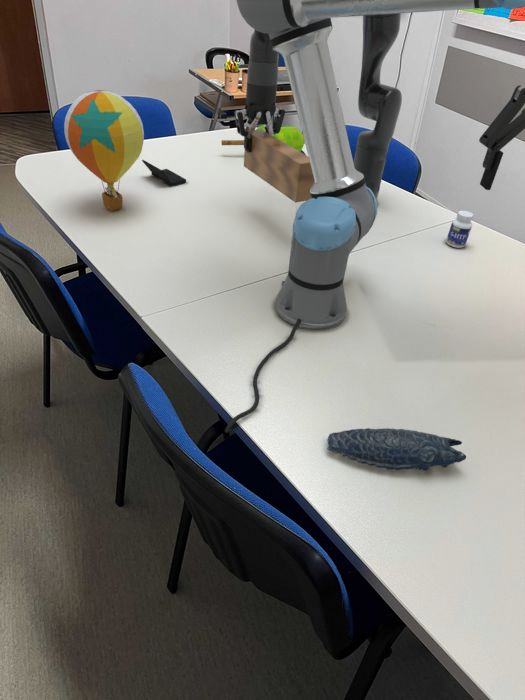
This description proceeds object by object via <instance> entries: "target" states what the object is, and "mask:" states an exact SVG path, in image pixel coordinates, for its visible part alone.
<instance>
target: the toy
mask: <svg viewBox="0 0 525 700" xmlns="http://www.w3.org/2000/svg"><path fill="white" fill-rule="evenodd" d="M63 128H64V130H63V131H64V132H63V133H64V137H65V141H66V144H67V146H68V148H69V150H70V151H71V152H72V154H73V156H75V158H76V159H77V161H78V162H80V163H81V165H83V166H84V167H85V168H86V169H87V170H88V171H90V172H91V173H92V174H93V175H94V176H96V177H97V178H98V179H100V180H101V183H102V184H101V185H102V187H103V191H102V193H101V198H102V203H103V205H104V207H105V208H106V209H108V210H109V211H110V212H113V211H118V210H121V209H122V208H123V203H124V201H123V195H122V194H121V193H120V192H119V191H118V190H119V188H120V183H118V182H120V181H121V178H122V177H123V176H124V175H125V174H126V173H127V172H128V171H129V170H130V169H131V167H133V165H134V164H135V163H136V161H137V160H138V159H139V158H140V155H141V153H142V150H143V147H144V141H145V131H144V130H145V129H144V125H143V121H142V119H141V116H140V114H139V113H138V111H137V109H136V108H134V106H133V105H132V103H130V102H129V101H128V100H127V99H126V98H124V97H123V96H122V95H119V94H117V93H115V92H112V91H109V90H102V89H101V90H100V89H98V90H92V91H87V92H85V93H82V95H79V96H78V97H77V98H76V99H75V100H73V102H72V103H71V105H70V107H69V108H68V111H67V112H66V114H65V118H64V124H63ZM104 183H105V184H106V185H107V186H106V187H105V186H104ZM115 183H118V185H117V190H116V188H115Z"/></svg>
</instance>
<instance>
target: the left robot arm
mask: <svg viewBox="0 0 525 700" xmlns="http://www.w3.org/2000/svg"><path fill="white" fill-rule="evenodd" d="M236 4H237V8H238V11H239V13H240V15H241V17H242V18H243V20H244V21H245V22H246V24H247V25H249V26H250V27H251V28H252V29H253V30H254V29H255V30H257V31H259V32H262V33H267V34H269V37H270V40H271V44H272V48H273V50H274V51H276V52H277V53H279V55H280V56H281V57H282V58H283V62H284V66H285V71H286V74H287V78H288V81H289V86H290V91H291V93H292V98H293V102H294V105H295V109H296V113H297V117H298V120H299V126H300V129H301V133H302V134H303V137H304V146H305V148H306V152H307V156H308V157H309V160H310V164H311V168H312V172H313V176H314V183H313V185H312V187H311V189H310V194H311V197H312V199H309V200H307V201H303V202H302V203H301V204H300V205H299V207H298V208H297V209H296V212H295V217H294V219H293V222H292V234H291V235H292V236H291V243H290V244H291V245H290V253H289V262H288V263H289V264H288V270H287V271H288V272H287V275H286V278H285V279H284V280H281V287H280V290H279V291H278V294H277V296H276V300H275V311H276V313H277V315H278V316H279V317H280V318H281V319H282V320H283V321H284V322H286V323H287V324H289V325H291V326H293V327H292V329H291V332H290V334H289V335H288V337H287V338H286V339H285V340H284V341H283V342H282V343H281V344H280V345H278V346H277V347H275V348H273V349H271V350H270V351H269V352H268V354H267V355H265V356H264V358H263V359H262V360H261V361H260V363H259V364H258V366H257V368H256V370H255V372H254V374H253V379H252V387H253V391H254V392H253V393H254V402H253V404H252V406H251V407H250V408H249V409H246V410H245V411H243V412H241V413H239V414H237V415H235V416H234V417H233V418H232V419H231V420H230V421H229V423H227V425H226V427H225V429H224V432H225V434H227V433H230V432H231V429H232V428H233V426H234V425H235V424H236V423H237V422H238V421H239V420H240V419H242V418H245V417H247V416H249V415H250V414H252V413H254V411H256V409H257V408H258V406H259V403H260V391H259V386H258V377H259V375H260V372H261V370H262V369H263V367H264V366H265V364H266V363H267V362H268V361H269V359H270V358H271V357H273V355H274V354H276V353H277V352H279V351H280V350H282V349H283V348H285V347H286V346H287V345H289V343H290V342H291V341H292V340H293V338H294V336H295V334H296V332H297V329H298V328H300V329H304V330H310V331H324V330H325V331H326V330H329V329H333V328H336V327H337V326H339V325H340V324H342V323H343V322H344V320H345V318H346V315H347V310H348V307H347V306H348V305H347V297H346V292H345V286H344V280H345V275H346V271H347V267H348V260H349V257H350V254H351V252H352V251H353V250H354V249H355V247H357V245H358V244H359V243H360V242H361V241H362V239H363V238H364V237H365V236H367V234H368V233H369V232H370V230H371V229H372V228H373V225H374V224H375V221H376V218H377V215H378V200H377V201H376V198H375V196H374V194H373V192H372V191H371V189H370V188H368V187H367V186H366V183H365V179H364V175H363V174H362V173H361V172H359V171H357V170H356V169H355V168H354V158H353V154H352V151H351V146H350V141H349V137H348V132H347V127H346V122H345V117H344V113H343V109H342V104H341V99H340V96H339V95H340V94H339V91H338V86H337V81H336V77H335V71H334V68H333V67H334V66H333V62H332V57H331V53H330V48H329V44H328V39H329V37H330V35H331V33H332V31H333V28H334V27H333V24H332V19H333V18H334V19H335V18H350V17H363V16H366V15H382V14H398V13H401V14H412V13H413V14H414V13H426V12H427V13H428V12H444V11H458V10H459V11H461V10H476V9H481V10H482V9H484V10H485V9H499V8H502V9H506V10H514V9H515V10H516V9H522V8H525V0H236ZM524 106H525V86H523V85H520V84H519V85H517V86H515V88H514V90H513V93H512V95H511V97H510V99H509V101H508V102H507V103H506V104H505V105H504V106H503V108H502V110H500V112H499V113H498V114H497V116H496V117H495V118H494V120H493V121H492V122H491V123H490V124H489V125H488V127H487V128H486V130H485V131H483V133H482V135H481V136H480V137H479V139H478V142H479V143H480V144H482V146H484V147H485V148H486V151H485V152H486V153H485V155H484V159H483V160H482V168H483V169H484V170H483V173H482V176H481V179H480V182H479V185H480V186H481V187H482V188H483V189H484V190H485V191H491V189H492V186H493V184H494V180H495V178H496V175H497V172H498V170H499V167H500V164H501V162H502V159H503V156H504V152H503V151H502V149H503V148H504V147H505V146H506V145H508V144H509V143H510V142H511V141H512V140H514V139H515V138H516V137H517V136H518V135H520V133H523V131H524V130H525V107H524ZM523 107H524V108H523ZM522 108H523V109H522ZM520 111H521V112H520ZM519 113H520V114H519ZM518 114H519V115H518ZM517 115H518V116H517Z"/></svg>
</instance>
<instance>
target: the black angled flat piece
mask: <svg viewBox="0 0 525 700" xmlns="http://www.w3.org/2000/svg"><path fill="white" fill-rule="evenodd" d="M141 161H142V163H143V164H144V165H145V167H147V169H148V170H149V171H150V172H151V174H150V175H151V176H153V177H155V178H156V179H158V180H160V181H162V182H163V183H165V184H167V185H168V186H170V187H172V186H177V185H180V184H184V183H185V184H186V183H187V179H186V178H184V177H183V176H181V175H179V174H177V173H175V172H173V171H172V170H170V169H168V168H164V169H161V168H159V167H157V166H155V165H153V164H151V163H150V162H148V161H146V160H145V159H142V160H141Z"/></svg>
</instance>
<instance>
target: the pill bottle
mask: <svg viewBox="0 0 525 700" xmlns="http://www.w3.org/2000/svg"><path fill="white" fill-rule="evenodd" d="M473 217H474V214H473V213H472V212H471V211H468V210H459V211H458V212H457V214H456V218H453V220H452V221H451V224H450V227H449V230H448V233H447V236H446V239H445V243H446V244H447V245H449V247H450V246H451V247H453V248H457V249H461V248H464V247H465V246H466V245H467V242H468V239H469V236H470V233H471V231H472V228H473V223H472V220H473Z"/></svg>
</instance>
